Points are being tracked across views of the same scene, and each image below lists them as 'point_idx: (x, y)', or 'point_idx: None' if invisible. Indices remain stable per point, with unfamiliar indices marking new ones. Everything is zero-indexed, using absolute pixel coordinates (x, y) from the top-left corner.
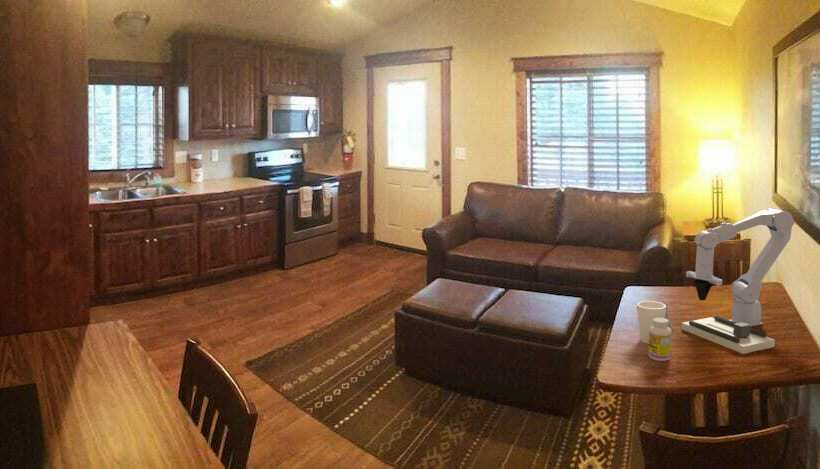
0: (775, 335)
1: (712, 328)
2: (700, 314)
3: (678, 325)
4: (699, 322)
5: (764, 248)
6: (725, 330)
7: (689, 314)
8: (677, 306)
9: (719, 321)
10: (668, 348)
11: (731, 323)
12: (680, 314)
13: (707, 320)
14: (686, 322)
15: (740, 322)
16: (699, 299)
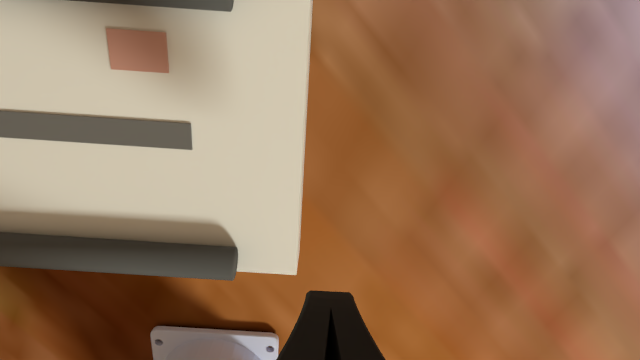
0: (13, 357)
1: (90, 78)
2: (448, 326)
3: (389, 35)
4: (247, 111)
5: None
6: (13, 120)
7: (490, 279)
8: (631, 335)
9: None
10: None
11: (75, 242)
12: (529, 236)
13: (254, 199)
14: (297, 13)
15: (182, 353)
16: (343, 293)
